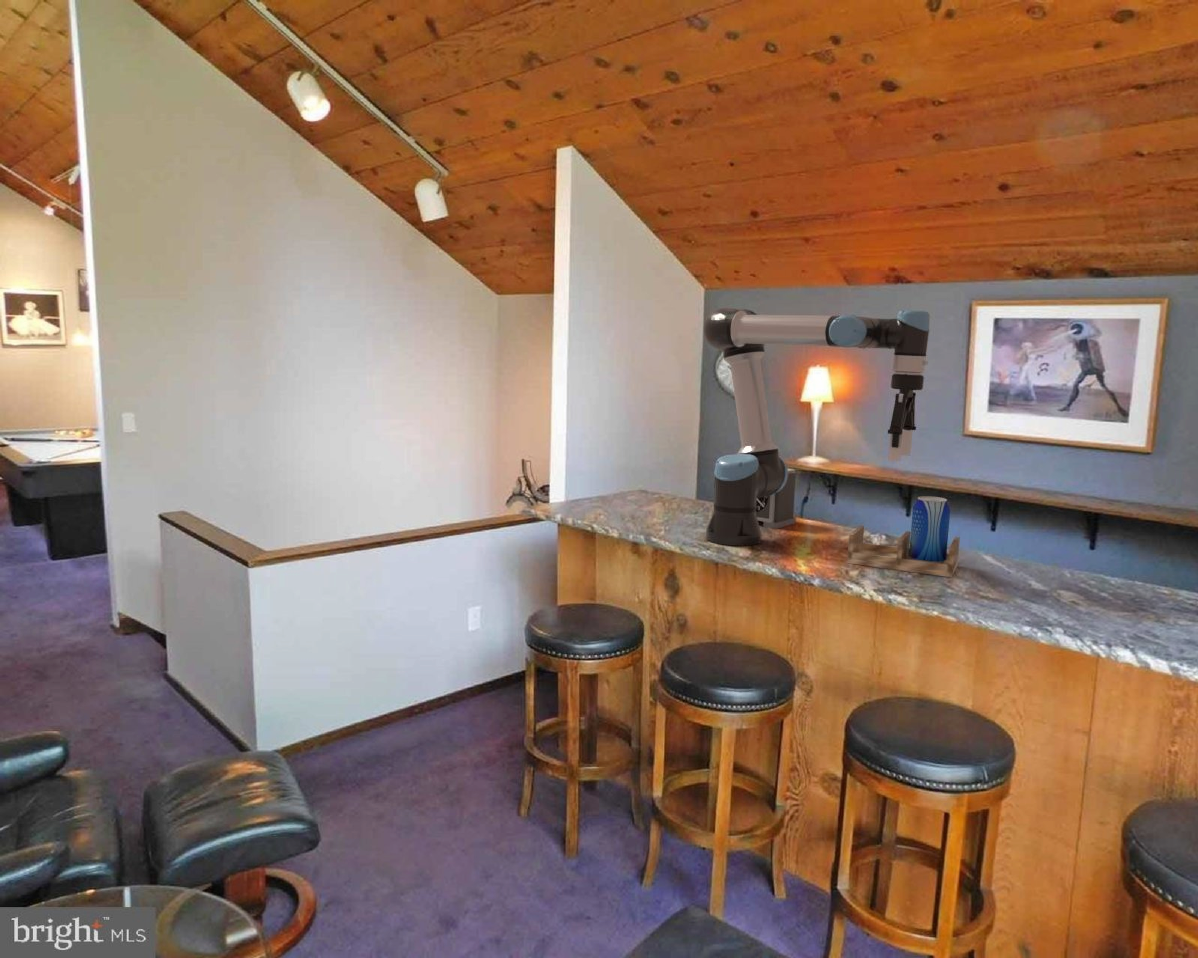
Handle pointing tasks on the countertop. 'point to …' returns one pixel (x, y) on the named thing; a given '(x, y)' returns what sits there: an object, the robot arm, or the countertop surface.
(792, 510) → the alarm clock
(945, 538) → the beer can
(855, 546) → the rack
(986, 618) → the countertop surface
